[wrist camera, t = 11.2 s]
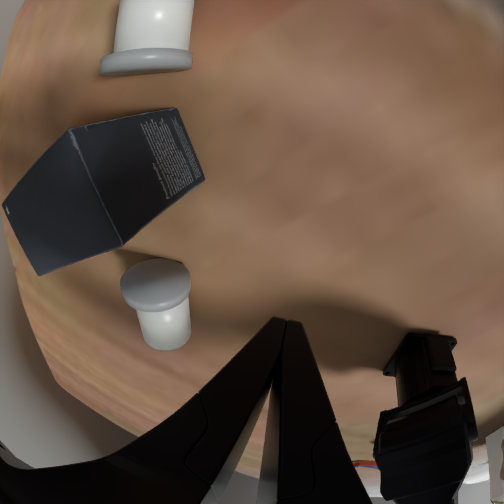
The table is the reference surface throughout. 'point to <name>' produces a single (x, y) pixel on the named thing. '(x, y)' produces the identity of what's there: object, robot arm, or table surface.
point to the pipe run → (149, 62)
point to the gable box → (496, 465)
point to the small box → (101, 187)
